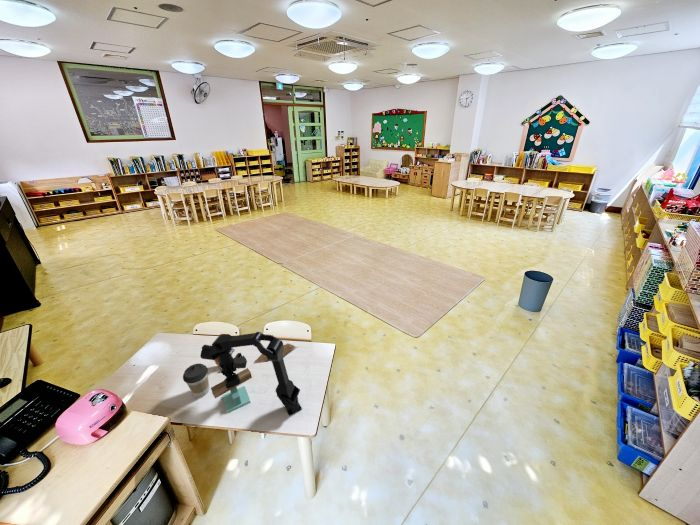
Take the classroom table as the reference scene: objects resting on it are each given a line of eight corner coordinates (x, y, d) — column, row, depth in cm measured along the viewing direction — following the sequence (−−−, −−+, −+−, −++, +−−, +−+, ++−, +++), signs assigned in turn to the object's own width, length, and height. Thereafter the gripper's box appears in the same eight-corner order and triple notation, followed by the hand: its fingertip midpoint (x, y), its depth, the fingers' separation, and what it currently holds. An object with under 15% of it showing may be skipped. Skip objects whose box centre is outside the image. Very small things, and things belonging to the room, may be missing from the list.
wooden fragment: (293, 342, 185) (293, 340, 184) (299, 353, 176) (298, 351, 175) (251, 356, 175) (251, 354, 174) (255, 368, 166) (254, 367, 165)
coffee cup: (198, 381, 158) (191, 360, 151) (218, 384, 156) (211, 362, 150) (184, 399, 148) (176, 378, 141) (205, 402, 146) (197, 380, 139)
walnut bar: (251, 377, 147) (250, 371, 145) (215, 398, 136) (213, 392, 135) (248, 373, 149) (247, 367, 148) (212, 393, 139) (210, 387, 137)
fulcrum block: (250, 402, 145) (248, 393, 143) (227, 413, 140) (224, 404, 138) (244, 387, 154) (242, 378, 151) (222, 396, 149) (220, 388, 146)
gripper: (248, 365, 132) (254, 389, 139) (238, 341, 146) (244, 364, 153) (222, 375, 127) (230, 400, 134) (214, 350, 141) (221, 374, 148)
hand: (232, 383), depth 142 cm, fingers closed on walnut bar, 4 cm apart
